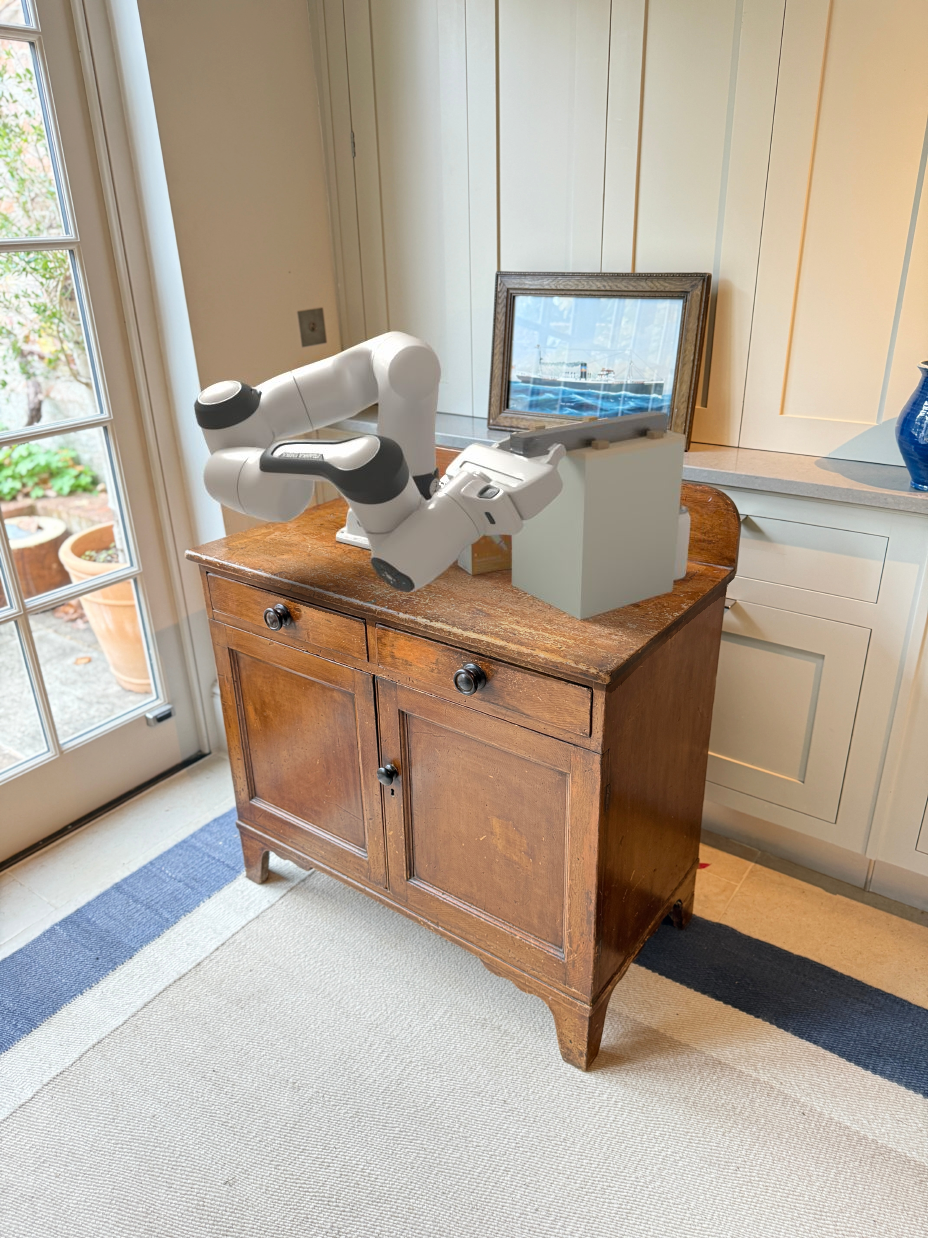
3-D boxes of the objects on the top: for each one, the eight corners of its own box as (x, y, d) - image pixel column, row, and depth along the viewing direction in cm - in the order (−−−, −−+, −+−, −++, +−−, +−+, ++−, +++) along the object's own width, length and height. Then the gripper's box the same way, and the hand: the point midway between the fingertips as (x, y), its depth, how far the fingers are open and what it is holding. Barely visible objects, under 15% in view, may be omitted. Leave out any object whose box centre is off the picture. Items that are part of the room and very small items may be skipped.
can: (688, 571, 149) (694, 505, 144) (681, 583, 144) (687, 516, 139) (652, 566, 151) (656, 501, 146) (643, 579, 146) (648, 512, 141)
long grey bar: (522, 459, 118) (522, 437, 117) (509, 455, 121) (509, 434, 119) (666, 432, 132) (668, 413, 131) (653, 429, 134) (654, 410, 133)
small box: (471, 576, 149) (470, 505, 144) (457, 565, 154) (455, 496, 149) (512, 568, 152) (512, 498, 147) (496, 558, 157) (496, 489, 152)
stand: (580, 620, 131) (586, 446, 120) (511, 585, 145) (511, 427, 134) (672, 591, 141) (686, 428, 130) (600, 560, 155) (607, 411, 144)
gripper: (443, 503, 128) (507, 446, 131) (524, 537, 112) (595, 472, 115) (423, 470, 124) (490, 413, 127) (504, 502, 108) (578, 435, 111)
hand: (540, 441), depth 121 cm, fingers open, 8 cm apart
